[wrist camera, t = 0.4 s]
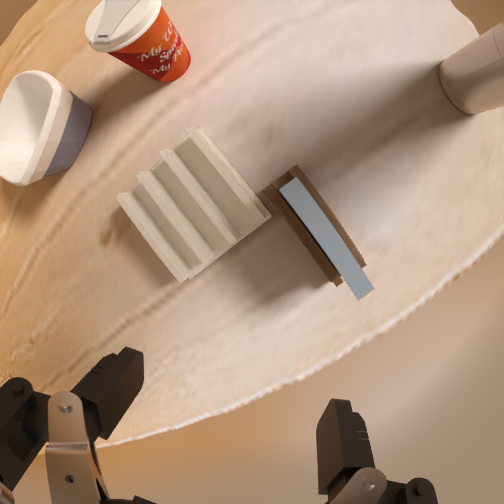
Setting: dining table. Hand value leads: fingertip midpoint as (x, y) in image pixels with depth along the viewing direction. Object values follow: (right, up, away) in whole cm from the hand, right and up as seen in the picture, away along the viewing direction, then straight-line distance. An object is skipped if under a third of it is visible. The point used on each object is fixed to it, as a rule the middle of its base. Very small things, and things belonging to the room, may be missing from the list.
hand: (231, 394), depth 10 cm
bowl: (-29, +25, +23) cm, 45 cm away
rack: (-6, +12, +24) cm, 27 cm away
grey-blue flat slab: (+8, +9, +22) cm, 25 cm away
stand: (+8, +9, +23) cm, 26 cm away
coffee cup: (-10, +31, +20) cm, 38 cm away
